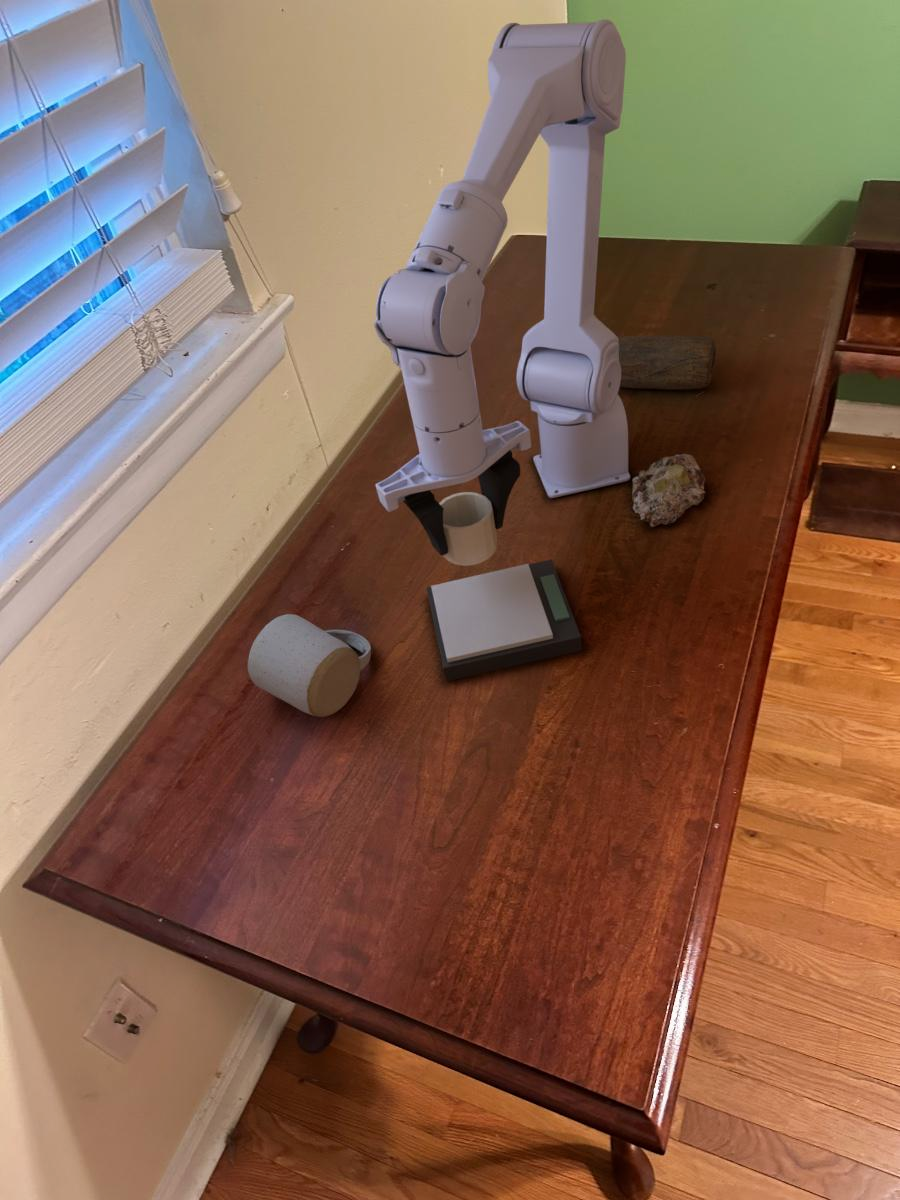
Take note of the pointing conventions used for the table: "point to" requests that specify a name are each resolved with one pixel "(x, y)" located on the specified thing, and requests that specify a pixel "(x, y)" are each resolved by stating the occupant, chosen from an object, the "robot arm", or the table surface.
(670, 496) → the mineral rock
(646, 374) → the wooden log
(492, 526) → the cream cup
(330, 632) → the ceramic mug
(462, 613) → the scale
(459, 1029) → the table surface
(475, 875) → the table surface
